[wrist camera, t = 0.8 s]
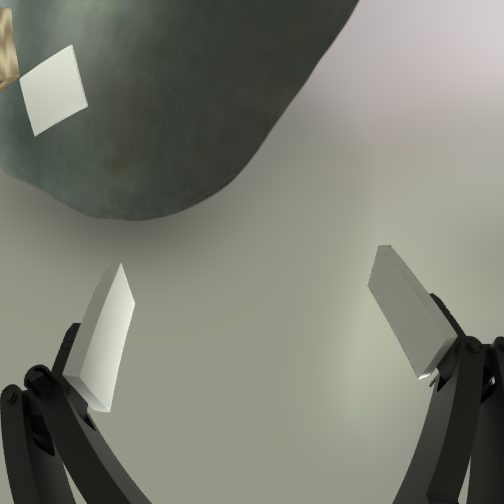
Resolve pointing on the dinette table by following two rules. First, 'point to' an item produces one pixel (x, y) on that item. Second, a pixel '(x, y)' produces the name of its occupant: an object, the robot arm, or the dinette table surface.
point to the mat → (53, 90)
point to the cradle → (7, 50)
